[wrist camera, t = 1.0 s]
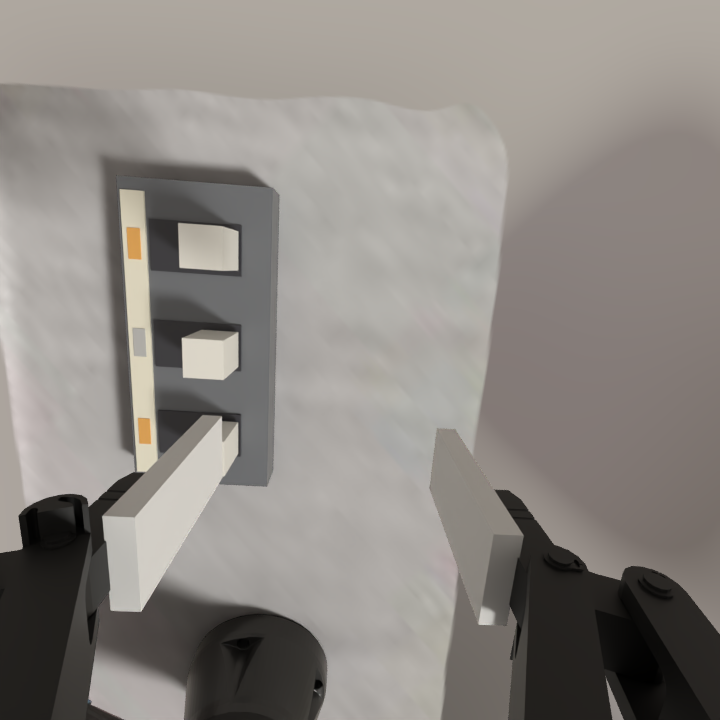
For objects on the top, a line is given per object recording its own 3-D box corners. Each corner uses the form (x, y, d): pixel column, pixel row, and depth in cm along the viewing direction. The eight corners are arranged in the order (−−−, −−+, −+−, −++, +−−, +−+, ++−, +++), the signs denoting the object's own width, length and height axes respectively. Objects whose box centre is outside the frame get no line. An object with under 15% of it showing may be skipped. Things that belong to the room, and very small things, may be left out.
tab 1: (238, 270, 32) (222, 270, 28) (200, 267, 32) (179, 267, 28) (238, 231, 31) (222, 226, 27) (199, 228, 31) (178, 222, 27)
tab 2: (238, 366, 33) (223, 380, 30) (202, 364, 33) (182, 377, 29) (238, 332, 33) (223, 340, 29) (201, 329, 33) (181, 337, 29)
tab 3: (238, 453, 35) (224, 476, 31) (204, 451, 35) (186, 474, 31) (238, 422, 35) (224, 441, 31) (203, 420, 34) (185, 439, 31)
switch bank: (273, 470, 40) (266, 488, 37) (151, 464, 39) (133, 481, 36) (279, 194, 34) (272, 187, 31) (136, 183, 33) (113, 174, 30)
